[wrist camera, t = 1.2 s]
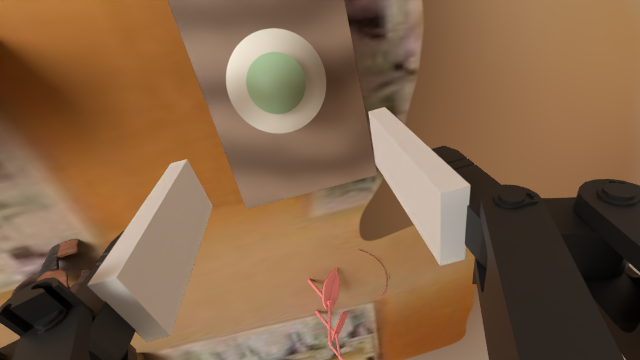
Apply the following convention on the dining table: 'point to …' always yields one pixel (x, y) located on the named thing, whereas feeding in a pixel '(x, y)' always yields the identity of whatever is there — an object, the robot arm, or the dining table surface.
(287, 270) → the dining table surface
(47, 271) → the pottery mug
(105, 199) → the dining table surface
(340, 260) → the dining table surface
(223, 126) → the panel with push button
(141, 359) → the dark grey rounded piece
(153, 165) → the dining table surface
